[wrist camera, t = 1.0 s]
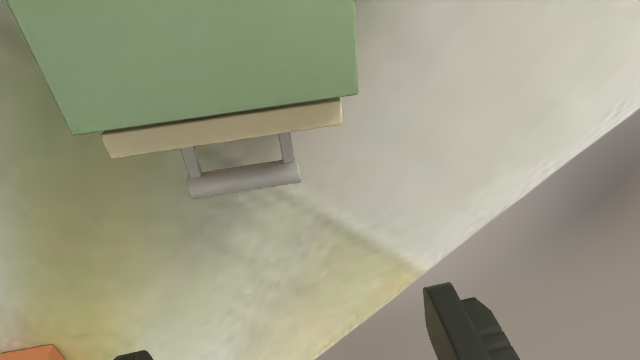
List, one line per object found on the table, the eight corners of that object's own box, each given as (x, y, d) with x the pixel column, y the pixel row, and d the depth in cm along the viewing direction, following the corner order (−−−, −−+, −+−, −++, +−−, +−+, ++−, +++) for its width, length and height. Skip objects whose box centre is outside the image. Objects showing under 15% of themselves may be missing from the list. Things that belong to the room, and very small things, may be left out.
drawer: (326, 140, 26) (348, 200, 21) (166, 164, 26) (143, 233, 20) (294, -209, 17) (317, -273, 11) (41, -187, 16) (-70, -244, 11)
